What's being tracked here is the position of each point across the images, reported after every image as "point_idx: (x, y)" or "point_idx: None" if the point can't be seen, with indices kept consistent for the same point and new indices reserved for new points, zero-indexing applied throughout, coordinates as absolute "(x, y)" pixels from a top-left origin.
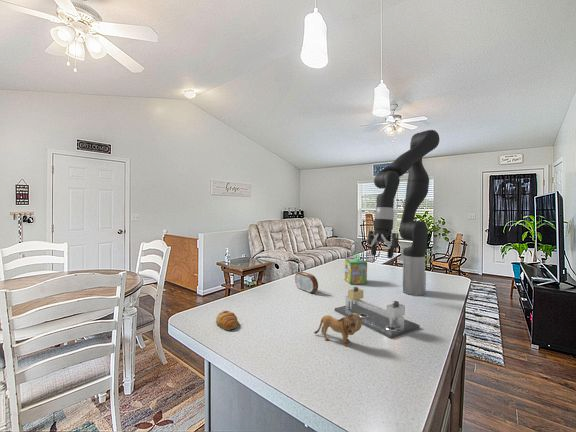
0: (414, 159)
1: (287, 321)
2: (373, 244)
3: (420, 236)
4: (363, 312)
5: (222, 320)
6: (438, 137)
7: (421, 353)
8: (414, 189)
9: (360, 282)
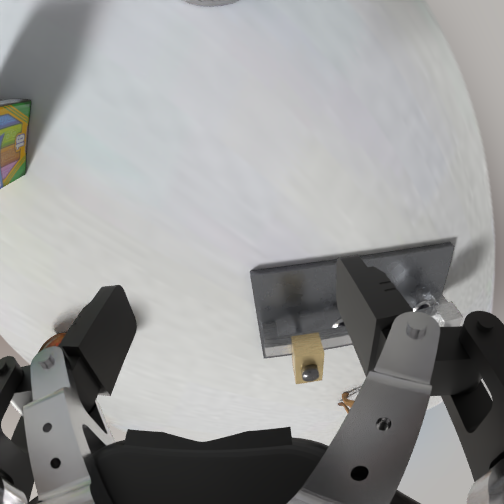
0: None
1: (270, 417)
2: (102, 417)
3: None
4: (328, 316)
5: None
6: None
7: (472, 306)
8: None
9: (23, 131)
